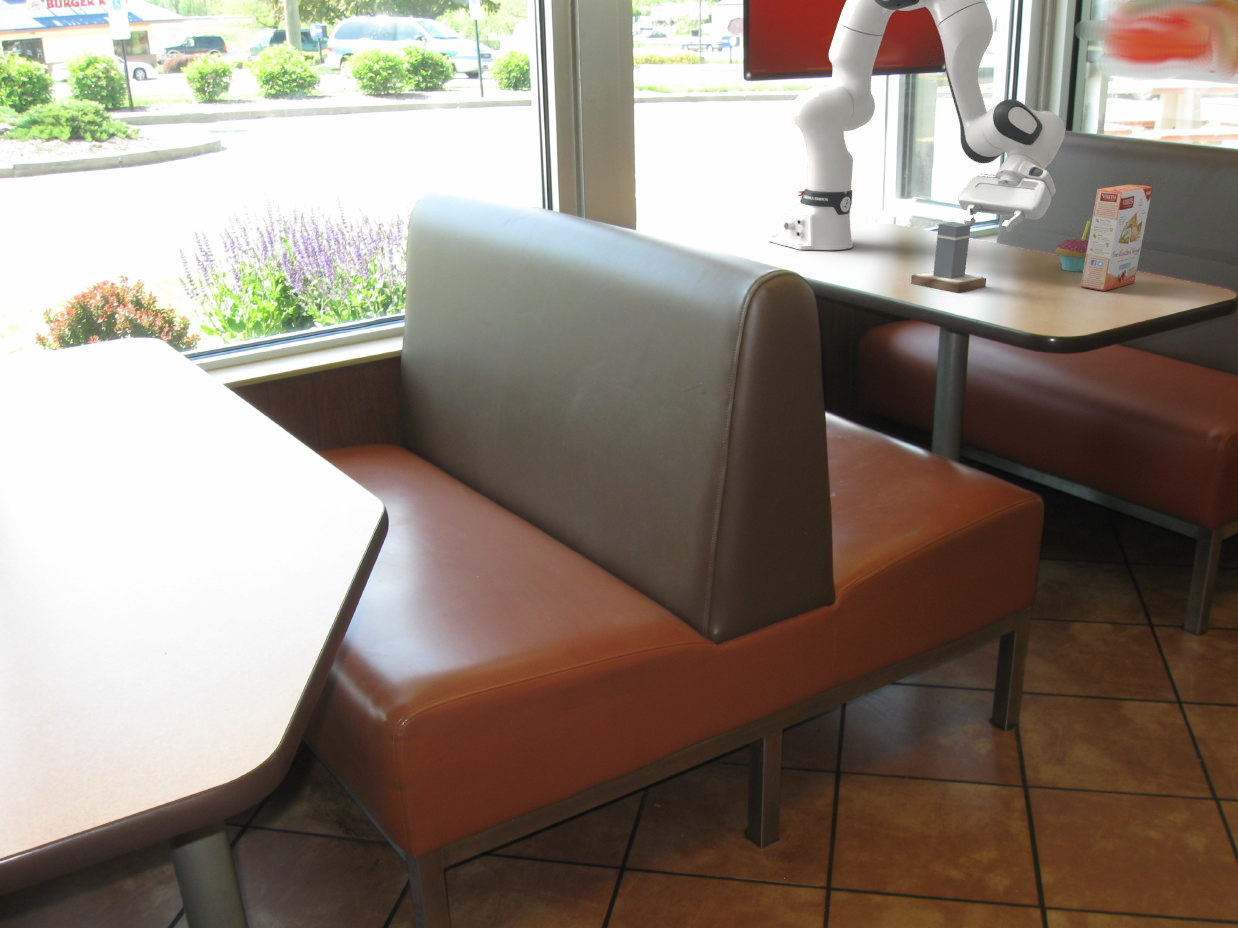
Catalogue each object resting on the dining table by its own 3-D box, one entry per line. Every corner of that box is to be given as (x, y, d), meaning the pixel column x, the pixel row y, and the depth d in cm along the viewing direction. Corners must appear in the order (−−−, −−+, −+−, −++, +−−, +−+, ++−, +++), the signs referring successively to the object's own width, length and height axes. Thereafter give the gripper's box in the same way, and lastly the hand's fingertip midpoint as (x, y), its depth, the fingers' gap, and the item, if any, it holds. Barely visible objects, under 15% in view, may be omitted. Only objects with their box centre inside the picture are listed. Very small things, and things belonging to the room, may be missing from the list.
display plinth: (910, 283, 239) (911, 274, 238) (938, 277, 245) (939, 268, 244) (957, 293, 230) (958, 283, 230) (985, 286, 236) (986, 277, 236)
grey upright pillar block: (932, 275, 237) (938, 224, 233) (947, 272, 240) (952, 222, 236) (950, 279, 234) (956, 227, 230) (965, 276, 237) (971, 224, 233)
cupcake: (1086, 266, 257) (1095, 214, 253) (1097, 274, 249) (1106, 220, 245) (1049, 265, 258) (1056, 214, 254) (1058, 273, 250) (1066, 220, 246)
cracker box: (1106, 292, 231) (1123, 191, 224) (1079, 288, 235) (1095, 188, 228) (1137, 283, 240) (1154, 185, 232) (1110, 279, 244) (1126, 183, 236)
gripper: (972, 164, 248) (941, 212, 246) (1054, 172, 233) (1022, 223, 231) (981, 182, 252) (950, 230, 250) (1063, 192, 237) (1031, 242, 235)
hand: (986, 227), depth 240 cm, fingers open, 8 cm apart
